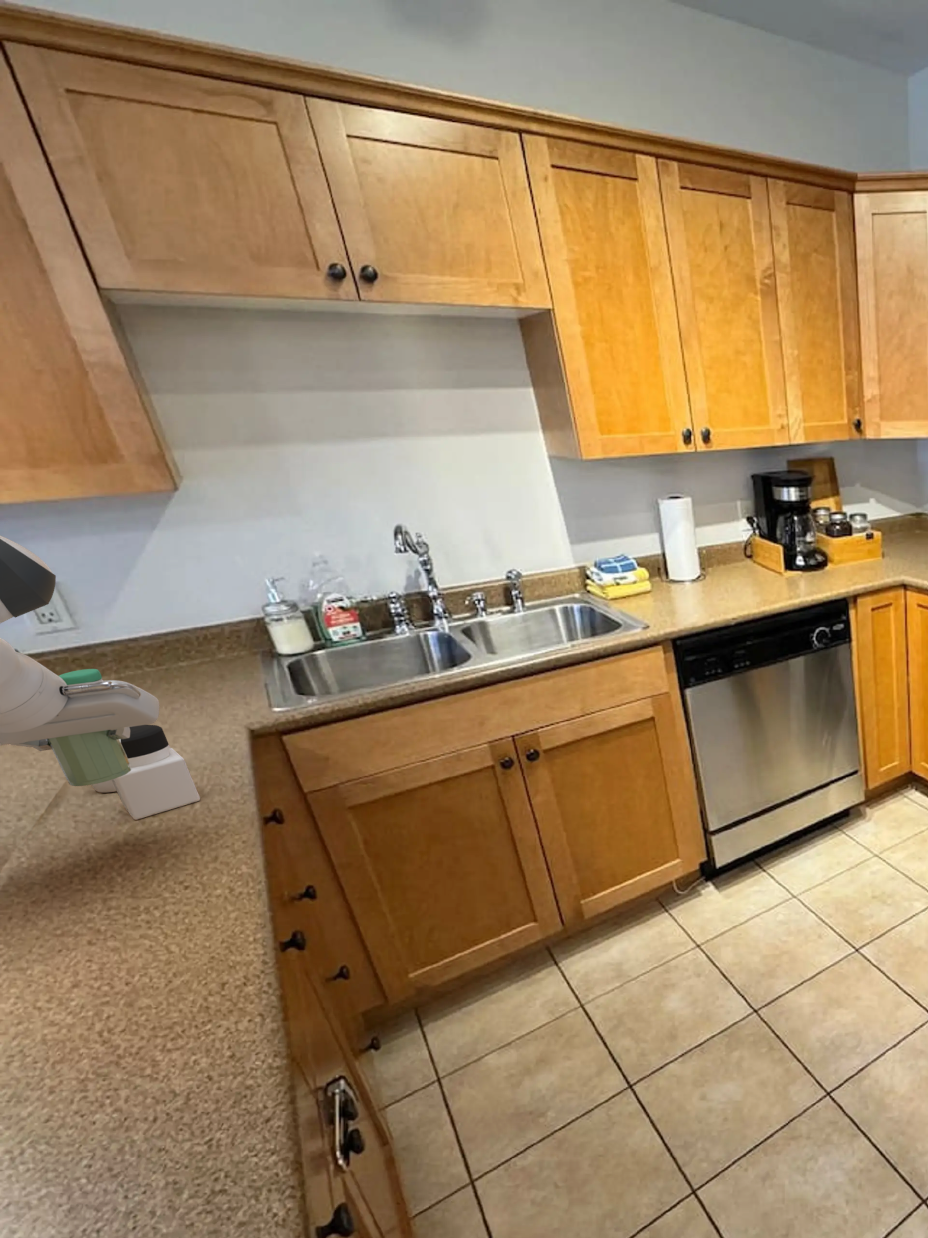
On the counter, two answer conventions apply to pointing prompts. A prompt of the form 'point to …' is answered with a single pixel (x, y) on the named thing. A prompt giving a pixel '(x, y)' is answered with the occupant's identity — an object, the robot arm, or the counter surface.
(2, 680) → the robot arm
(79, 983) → the counter surface
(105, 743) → the cup
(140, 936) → the counter surface
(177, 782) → the container
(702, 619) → the counter surface
